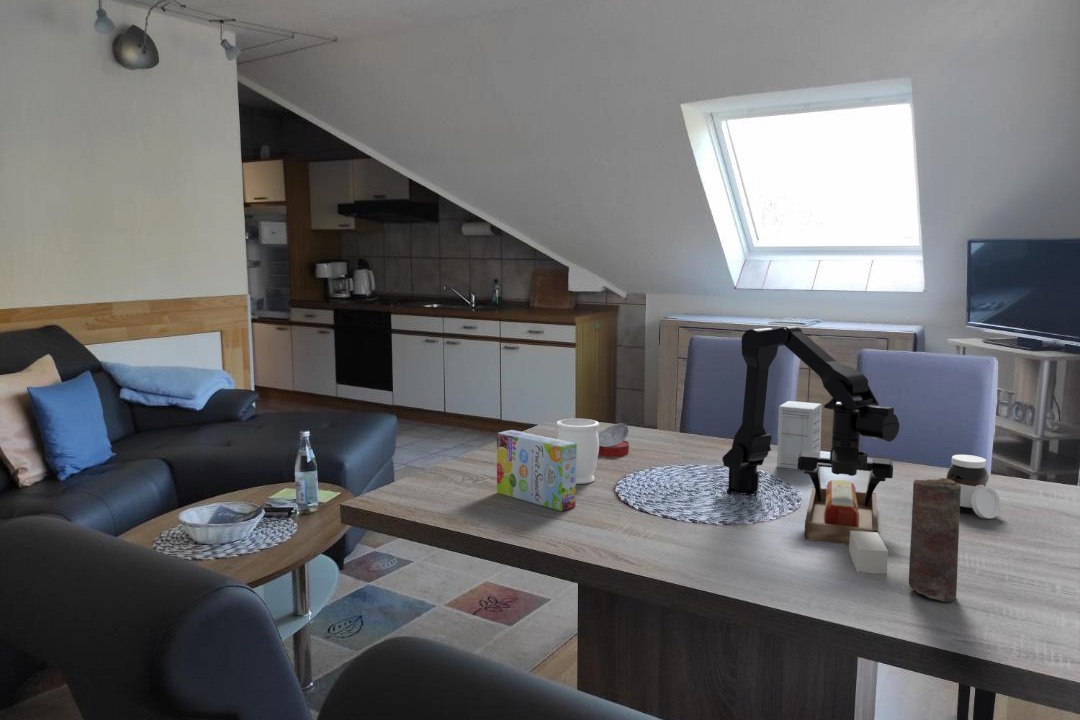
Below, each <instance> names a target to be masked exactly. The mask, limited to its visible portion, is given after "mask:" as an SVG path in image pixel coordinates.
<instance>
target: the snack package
mask: <svg viewBox="0 0 1080 720" xmlns="http://www.w3.org/2000/svg"><path fill="white" fill-rule="evenodd" d="M826 488H827V489H826V505H825V512H824V522H825V524H834V525H842V526H851V527H859V512H858V505H857V498H856V491H857V490H856V486H855V484H854V483H853V482H852V481H850V480H846V479H831V480H830V481H828V482H827V484H826Z"/></svg>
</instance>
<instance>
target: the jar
mask: <svg viewBox="0 0 1080 720" xmlns="http://www.w3.org/2000/svg"><path fill="white" fill-rule="evenodd" d="M556 423H557V424H556V425H557V427H558V433H557V438H556V439H559V440H564V441H569V442H574V443H577V450H576V485H586V484H590V483H592V482H594V481H595V476H594V473H595V470H596V467H597V464H598V456H599V455H598V453H599V436H598V435H599V432H598V428H599V427H600V423H599V421H598V420H594V419H589V418H575V417H574V418H564V419H559V420H558V421H557V422H556Z"/></svg>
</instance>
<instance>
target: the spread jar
mask: <svg viewBox="0 0 1080 720" xmlns="http://www.w3.org/2000/svg"><path fill="white" fill-rule="evenodd" d="M986 466H987V459H986V458H983V457H980V456H977V455H971V454H954V455H952V457H951V465H950V466H949V469H948V470H947V473H946V476H945V479H950V480H952V481H955V483H958V484H960V485H961V495H960V513H964V514H976V515H977V516H978V517H980V518H981V519H994V518H996V517H997V516H998V515H999V513H1000V511H1001V506H1002V505H1001V499H1000V496H999V493H997V491H996V490H995V489H994V488H992V487H990V486H989V482H990V477H989V476H990V475H989V472H988V470H987V468H986Z"/></svg>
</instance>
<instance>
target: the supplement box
mask: <svg viewBox="0 0 1080 720" xmlns="http://www.w3.org/2000/svg"><path fill="white" fill-rule="evenodd" d="M822 407H823V405H822V403H819V402H817V403H816V402H806V401H805V402H804V401H794V400H788V401H786V402H784V403H782V404H781V405H778V423H777V424H778V425H777V450H776V451H777V454H776V455H777V456H776V467H777V468H783V469H791V470H799V469H797V468H798V457H799V454H800V453H801V452H813V453H818V457H819V458H821V444H822V443H821V441H822V439H821V438H822V410H823V408H822ZM799 471H800V470H799Z"/></svg>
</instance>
